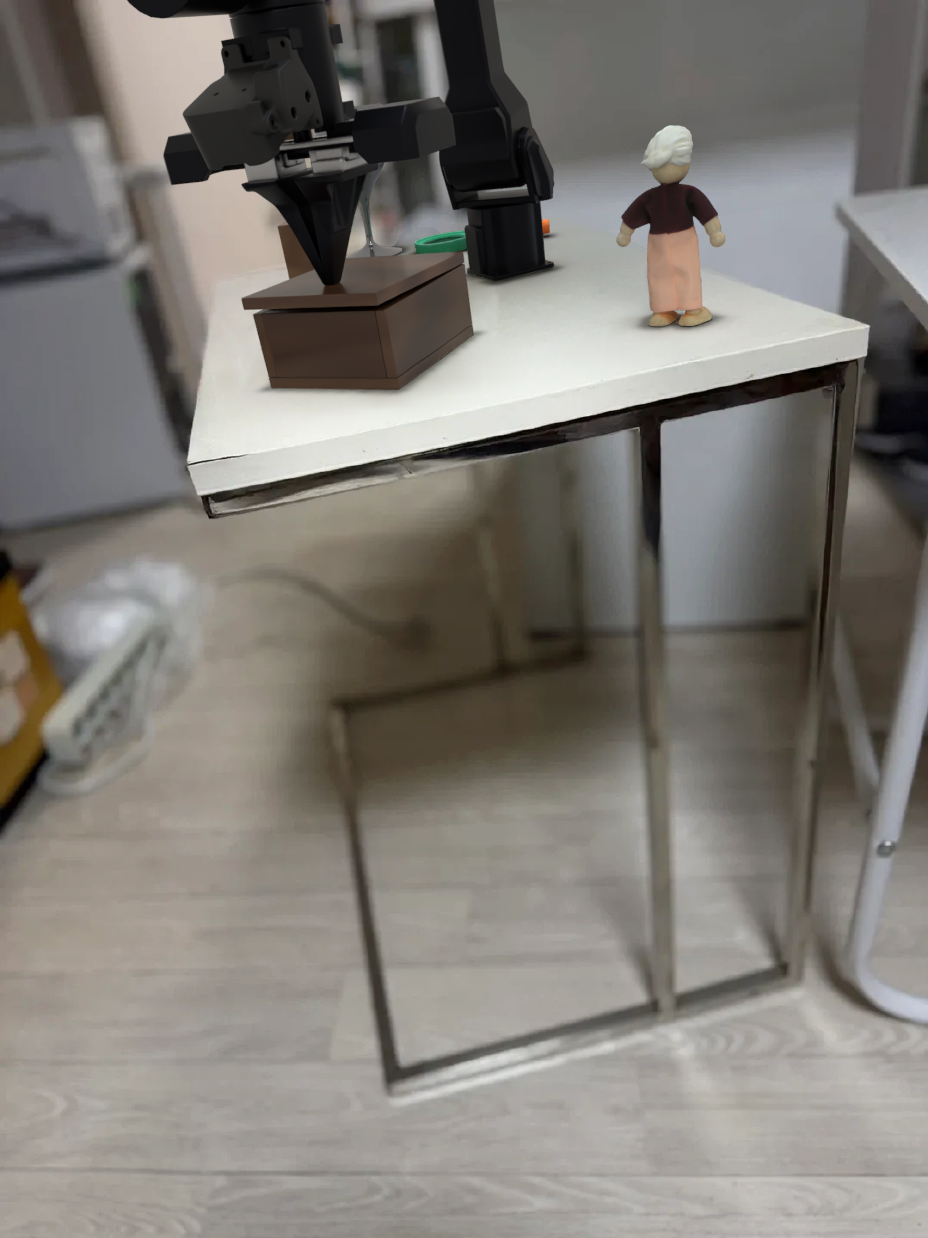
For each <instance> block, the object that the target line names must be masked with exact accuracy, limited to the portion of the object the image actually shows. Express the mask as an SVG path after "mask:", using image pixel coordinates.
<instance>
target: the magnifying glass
mask: <svg viewBox="0 0 928 1238" xmlns="http://www.w3.org/2000/svg"><path fill="white" fill-rule="evenodd" d="M542 226H543V235H547V234H550V233H551V228H550V219H549V218H544V219H542ZM414 249H415V254H428V253H445V252H462V251H465V250H467V246H466V238H465V230H456V231H449V232H442V233H437V234H432V235H429V236H425V237H423V238H422V237H421V238H418V239H417V240H415V241H414Z"/></svg>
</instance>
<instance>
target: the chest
mask: <svg viewBox="0 0 928 1238" xmlns="http://www.w3.org/2000/svg"><path fill="white" fill-rule="evenodd" d="M386 302H389V303H388V304H386V305H384V306H382V307H381V308H380V307H373V308H368V307H369V306H349V307H319V308H289V309H260V310H258V311H256V312H255V313H253V314H252V316H253V321H254V326H255V328H256V333H257V337H258V340H259V345H260V349H261V352H262V356H263V361H264V364H265V369H266V373H267V377H268V381H269V384H270V388H271V389H288V390H289V389H290V390H291V389H292V390H293V389H294V390H298V389H299V390H300V389H301V390H377V391H378V390H382V391H383V390H385V391H387V390H389V391H390V390H391V391H399V390H401V389H403V388H404V387H405V386H407V384H409V383H410V382H411V381H413V380H414V379H416V378H417V377H419V376H420V375H421V374H422V373H424V372H425V371H427V370H428V369H430V368H431V367H432V366H433V365H435V364H436V363H437V362H439V361H440V360H441V359H443V358H444V357H445V356H447V355H448V354H450V353H451V352H452V351H454V350H455V349H456V348H458V347H459V346H460V345H462V344H463V343H465V341H467V340H468V339H470V338H472V337H473V336H474V334H475V332H474V325H473V316H472V311H471V302H470V294H469V287H468V278H467V269H466V264H465V263H462V264H460V265H458V266H456V267H454V268H452V269H450V270H448V271H446V272H444V273H442V274H440V275H438V276H436V277H434V278H432V279H430V280H428V281H426V282H424V283H422V284H420V285H418V286H416V287H414V288H412V289H410V290H408V291H406V292H404V293H402V294H400V295H398V296H396V297H394V298H392V299H390V300H388V301H386Z"/></svg>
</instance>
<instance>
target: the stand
mask: <svg viewBox="0 0 928 1238" xmlns="http://www.w3.org/2000/svg"><path fill="white" fill-rule="evenodd" d="M277 231H278V235H279V239H280V244H281V249H282V253H283V257H284V262H285V267H286V270H287V275H288V280H289V279H292V278H294V277H297V276H299V275H302V274H304V273H307V272H310V271H312V270H315V269H314V268H313V266H312V264H311V262H310V261H309V259H308V257H307V255H306V254H305V252H304V250H303V248H302V247H301V245H300V243H299V241H298V240H297V238H296V236H295V235H294V233H293V231H292V230H291V228H290V226H289V225H288V223H287V222H286V220H284V221H283V222H281V223H280V224H279V225H277Z"/></svg>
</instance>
